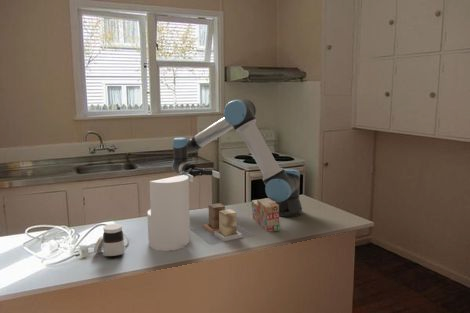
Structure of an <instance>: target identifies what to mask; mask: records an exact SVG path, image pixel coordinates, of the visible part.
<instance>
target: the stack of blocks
mask: <svg viewBox="0 0 470 313" xmlns="http://www.w3.org/2000/svg"><path fill="white" fill-rule="evenodd" d="M251 210H252V212H251V213H252V218H253V220H254V221H255V222H256V223H257V224H258V225H260V226H261V227H263V228H264V230H265V231H266V232H272V233H273V232H280V230H281V229H280V228H281V226H280V216H279V205H278V204H276V202H275V201H273V200H271V199H270V198H269V197H267V198H266V197H265V198H261V199H253V200H251Z"/></svg>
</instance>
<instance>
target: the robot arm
mask: <svg viewBox="0 0 470 313" xmlns="http://www.w3.org/2000/svg"><path fill="white" fill-rule="evenodd" d="M256 114H257V107H256V105H255V103H254V102H253V101H252V100H251V99H246V98H245V99H233V100H231V101H229V102H227V103H226V105H225V107H224V110H223V117H222V118H220V119H219V120H217V121H215V122H214V123H213V124H211V125H209V126H208V127H206V128H205V129H203V130H202V131H200V132H198V133H197V134H196V135H194V136H192V137H191V138H189V139H188V138H187V137H174V139H173V140H172V149H173V161H171V162H172V163H171V169H172V171H173V172H175V173H176V174H178V175H179V176H180V175H187V176H188V177H189V182H191V183H194V181H195V179H194V178H195V177H199V176H200V177H201V176H212V177H214V178H217V179H220V178H221V174H220V172H219V171H218V169H216V168H208V167H207V168H206V167H202V168H198V167H197V165H196V164H194V163H191V162H189V154H191V153H196V152H198V151H200V150H201V149H202V148H203V147H204V146H206V145H208V144H209V143H211V142H213V141H214V140H216V139H218V138H219V137H221V136H223V135H224V134H226V133H227V132H229V131H231V130H232V129H234V131H235V132H237V133H240V135H241V137H242V140H243V141H244V143H245V145H246V147H247V148H248V150H249V151H250V153H251V156H252V157H253V160H254V161H255V163H256V164H257V166H258V168H259V170H260V172H261V173H262V182H263V184H264V185H265V188H264V189H265V190H264V191H265V195H266V196H267V198H270V199H271V200H273V201H274V202H276V204H278V205H279V217H285V218H293V217H294V218H295V217H299V216H301V215H302V214H303V207H302V203H301V201H300V186H301V185H300V184H301V182H300V181H301V180H300V179H301V172H300V170H298V169H292V168H283V167H280V165H279V164H278V162H277V161H276V159H275V157H274V155H273V154H272V152H271V150H270V148H269V147H268V145H267V143H266V141H265V139H264V137H263V136H262V134H261V132H260V130H259V128H258V126H257V125H256V122H257V118H256Z"/></svg>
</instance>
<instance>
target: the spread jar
mask: <svg viewBox="0 0 470 313" xmlns="http://www.w3.org/2000/svg"><path fill="white" fill-rule="evenodd" d="M124 240H125V238H124V231H123V226H122V224H119V223H110V224H106V225H105V226H103V234H102V235H101V236H100V237H98V239H97V241H96V243H95V245H94V248H93V252H94V253H95V254H97V255H98V254H100V253H101V252H102V251H103V256H104V258H106V259H109V260H110V259H111V260H115V259H119V258H121V257H123V256H124V254H125V241H124Z"/></svg>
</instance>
